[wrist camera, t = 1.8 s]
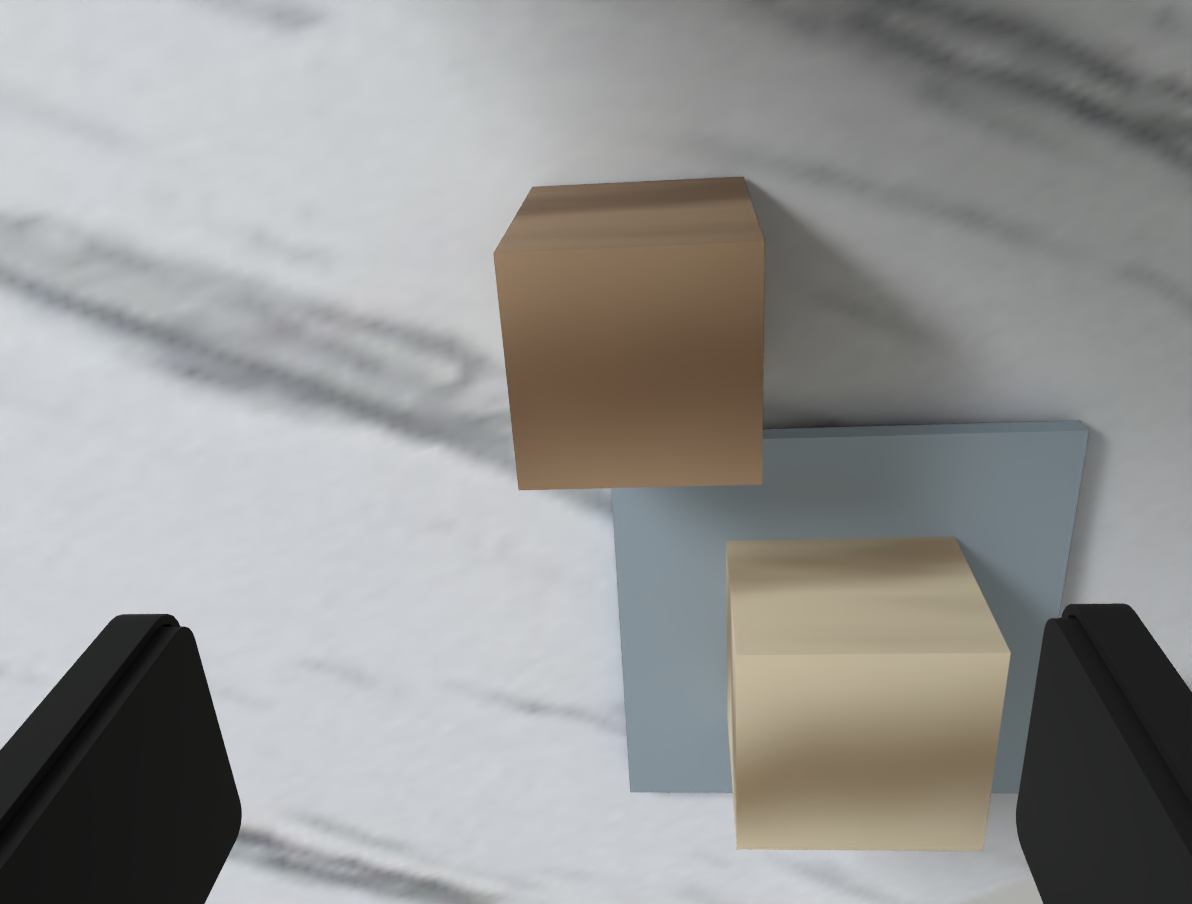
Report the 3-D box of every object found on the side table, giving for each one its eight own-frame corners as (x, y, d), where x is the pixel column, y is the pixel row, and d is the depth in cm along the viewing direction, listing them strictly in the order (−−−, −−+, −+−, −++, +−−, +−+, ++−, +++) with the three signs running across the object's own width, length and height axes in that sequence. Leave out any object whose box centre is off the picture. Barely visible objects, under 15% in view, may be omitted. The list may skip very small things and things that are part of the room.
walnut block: (532, 186, 24) (493, 253, 19) (743, 176, 24) (764, 241, 19) (549, 381, 27) (518, 490, 21) (742, 375, 26) (761, 484, 21)
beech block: (725, 541, 28) (736, 655, 23) (954, 536, 27) (1010, 652, 23) (727, 715, 30) (737, 849, 26) (935, 714, 30) (982, 851, 25)
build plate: (609, 433, 27) (608, 443, 27) (1080, 420, 26) (1088, 430, 25) (630, 778, 32) (630, 792, 32) (1023, 778, 31) (1029, 793, 31)
